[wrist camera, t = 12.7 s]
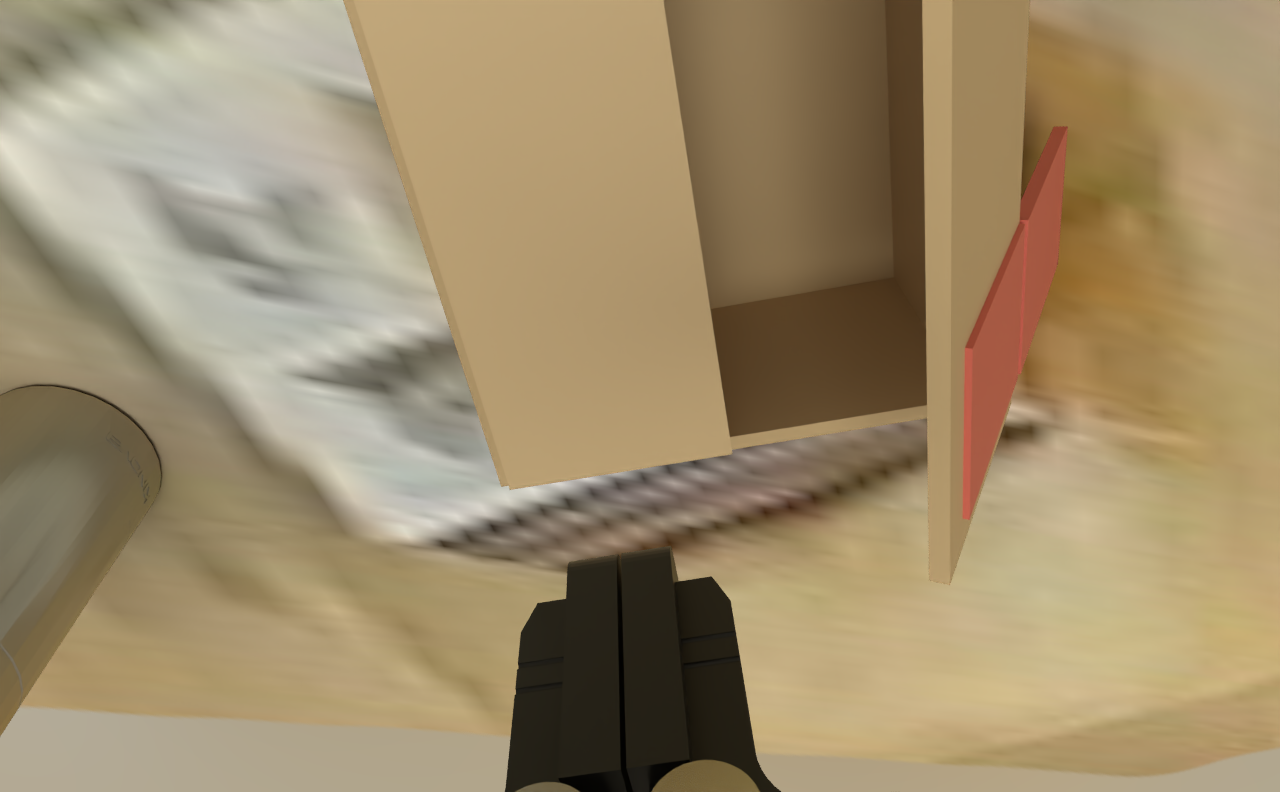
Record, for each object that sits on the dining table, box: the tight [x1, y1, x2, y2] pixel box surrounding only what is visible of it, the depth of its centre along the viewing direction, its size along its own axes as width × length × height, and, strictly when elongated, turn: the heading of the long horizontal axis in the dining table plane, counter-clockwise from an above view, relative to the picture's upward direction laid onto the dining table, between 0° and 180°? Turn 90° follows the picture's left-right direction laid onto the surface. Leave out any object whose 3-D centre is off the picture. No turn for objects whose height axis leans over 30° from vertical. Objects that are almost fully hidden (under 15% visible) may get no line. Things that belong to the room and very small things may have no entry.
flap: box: [922, 0, 1068, 585], centre depth 29 cm, size 19×18×1 cm
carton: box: [343, 0, 927, 490], centre depth 35 cm, size 19×20×12 cm
